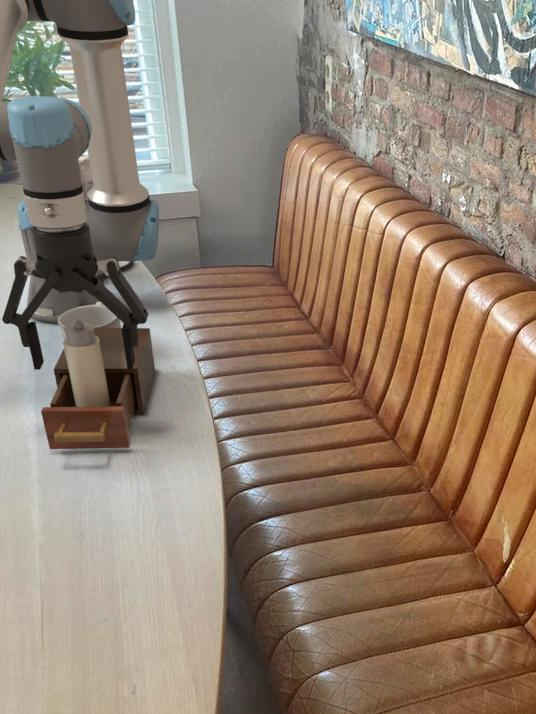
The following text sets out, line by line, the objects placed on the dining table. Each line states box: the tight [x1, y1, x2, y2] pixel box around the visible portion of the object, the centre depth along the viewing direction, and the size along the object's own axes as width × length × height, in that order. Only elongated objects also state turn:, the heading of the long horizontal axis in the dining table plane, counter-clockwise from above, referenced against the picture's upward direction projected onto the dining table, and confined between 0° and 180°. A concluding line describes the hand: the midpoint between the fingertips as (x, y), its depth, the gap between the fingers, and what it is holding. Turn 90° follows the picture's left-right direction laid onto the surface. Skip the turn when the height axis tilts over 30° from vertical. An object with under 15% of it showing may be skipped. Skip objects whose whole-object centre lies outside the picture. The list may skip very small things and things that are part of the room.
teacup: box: [57, 302, 122, 340], centre depth 145 cm, size 14×11×8 cm
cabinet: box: [53, 327, 156, 416], centre depth 133 cm, size 16×13×9 cm
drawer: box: [40, 373, 137, 450], centre depth 121 cm, size 19×12×7 cm, turn 5°
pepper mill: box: [62, 320, 111, 407], centre depth 118 cm, size 5×5×17 cm
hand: (85, 365), depth 117 cm, fingers open, 13 cm apart
